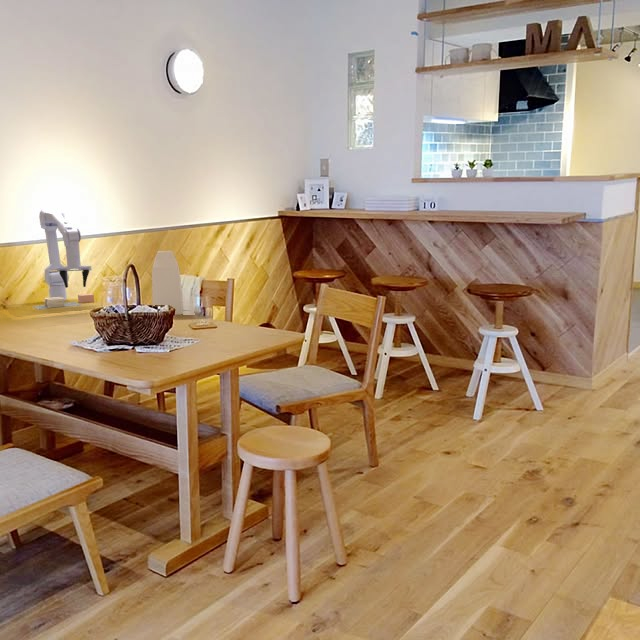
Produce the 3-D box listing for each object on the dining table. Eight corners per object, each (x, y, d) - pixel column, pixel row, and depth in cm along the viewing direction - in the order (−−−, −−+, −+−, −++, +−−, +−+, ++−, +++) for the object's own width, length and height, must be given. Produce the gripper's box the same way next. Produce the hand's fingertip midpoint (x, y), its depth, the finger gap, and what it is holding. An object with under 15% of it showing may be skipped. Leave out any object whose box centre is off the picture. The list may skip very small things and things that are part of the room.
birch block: (45, 305, 330) (44, 298, 329) (61, 304, 333) (60, 296, 333) (48, 307, 324) (47, 299, 323) (64, 306, 328) (64, 298, 327)
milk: (152, 315, 303) (148, 252, 299) (155, 311, 314) (151, 250, 310) (182, 314, 304) (178, 251, 300) (183, 310, 316) (180, 249, 311)
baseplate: (32, 309, 330) (31, 306, 330) (75, 305, 340) (74, 302, 340) (38, 312, 319) (37, 309, 319) (82, 308, 329) (82, 305, 329)
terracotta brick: (78, 305, 340) (77, 294, 340) (91, 304, 344) (91, 293, 343) (81, 306, 337) (80, 295, 336) (94, 305, 340) (93, 294, 339)
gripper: (54, 258, 320) (57, 288, 323) (88, 256, 322) (91, 287, 325) (57, 256, 327) (60, 286, 329) (91, 255, 329) (93, 285, 331)
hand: (75, 287), depth 327 cm, fingers open, 7 cm apart
